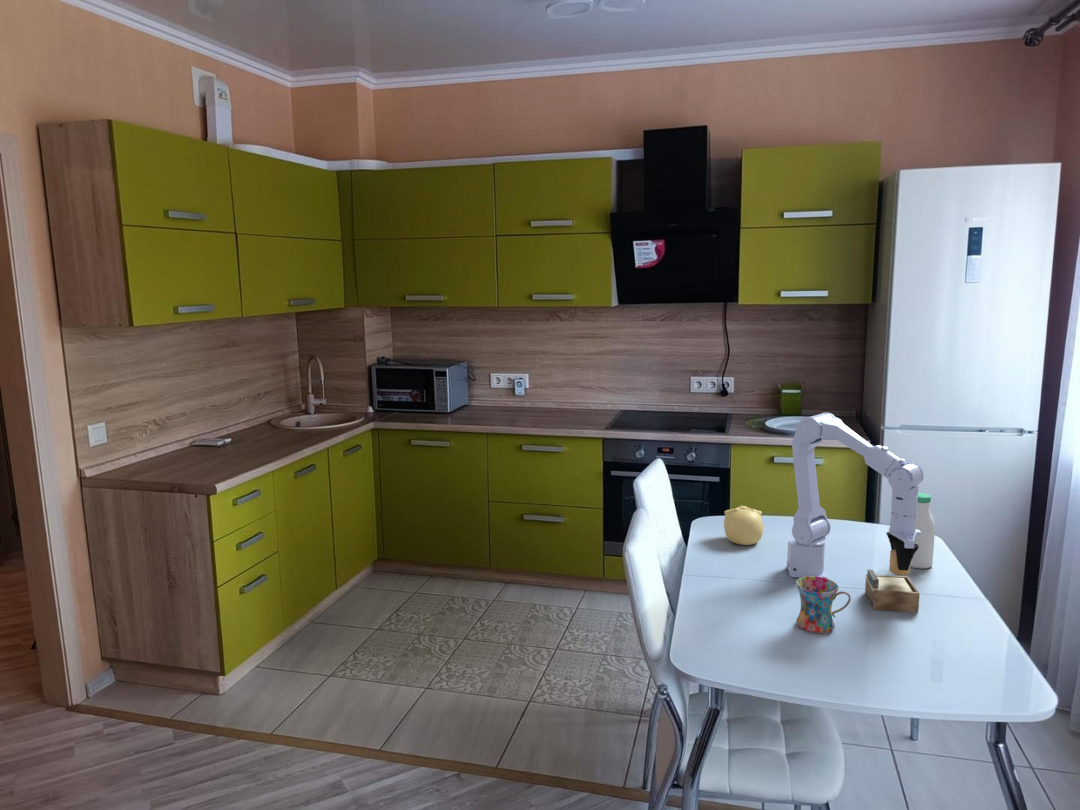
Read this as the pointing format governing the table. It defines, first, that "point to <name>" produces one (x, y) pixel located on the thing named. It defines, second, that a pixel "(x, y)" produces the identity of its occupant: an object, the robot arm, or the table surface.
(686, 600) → the table surface
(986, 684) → the table surface
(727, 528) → the pale yellow round lump
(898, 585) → the lid
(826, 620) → the mug
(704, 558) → the table surface
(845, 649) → the table surface
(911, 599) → the wooden box
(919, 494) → the milk bottle
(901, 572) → the roll-on deodorant
